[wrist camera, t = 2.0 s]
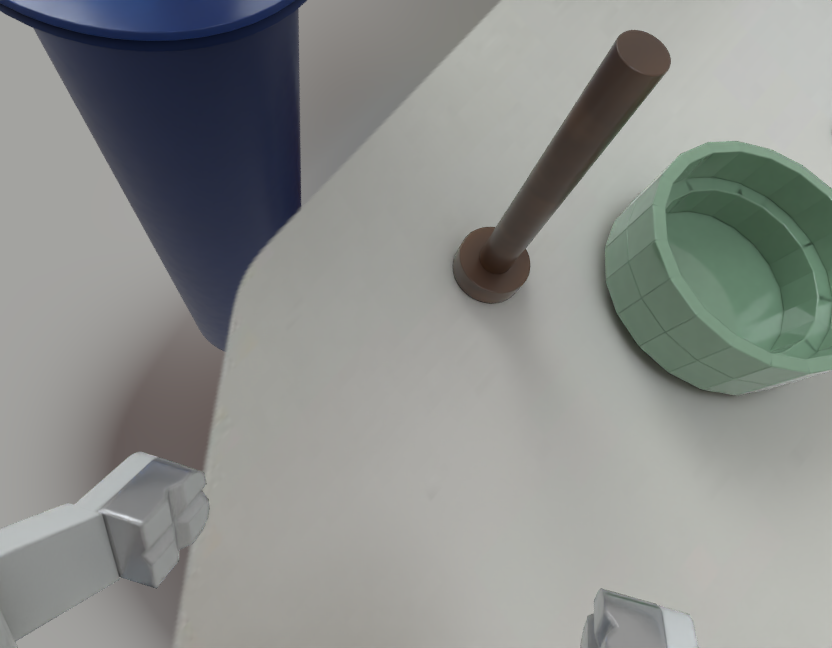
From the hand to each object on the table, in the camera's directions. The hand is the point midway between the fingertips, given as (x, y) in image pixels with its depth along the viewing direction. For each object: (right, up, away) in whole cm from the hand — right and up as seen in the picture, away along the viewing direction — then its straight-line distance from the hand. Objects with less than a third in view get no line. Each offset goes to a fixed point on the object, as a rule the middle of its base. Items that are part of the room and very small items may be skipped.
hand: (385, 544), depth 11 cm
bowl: (+20, +7, +25) cm, 32 cm away
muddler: (+5, +8, +22) cm, 24 cm away
